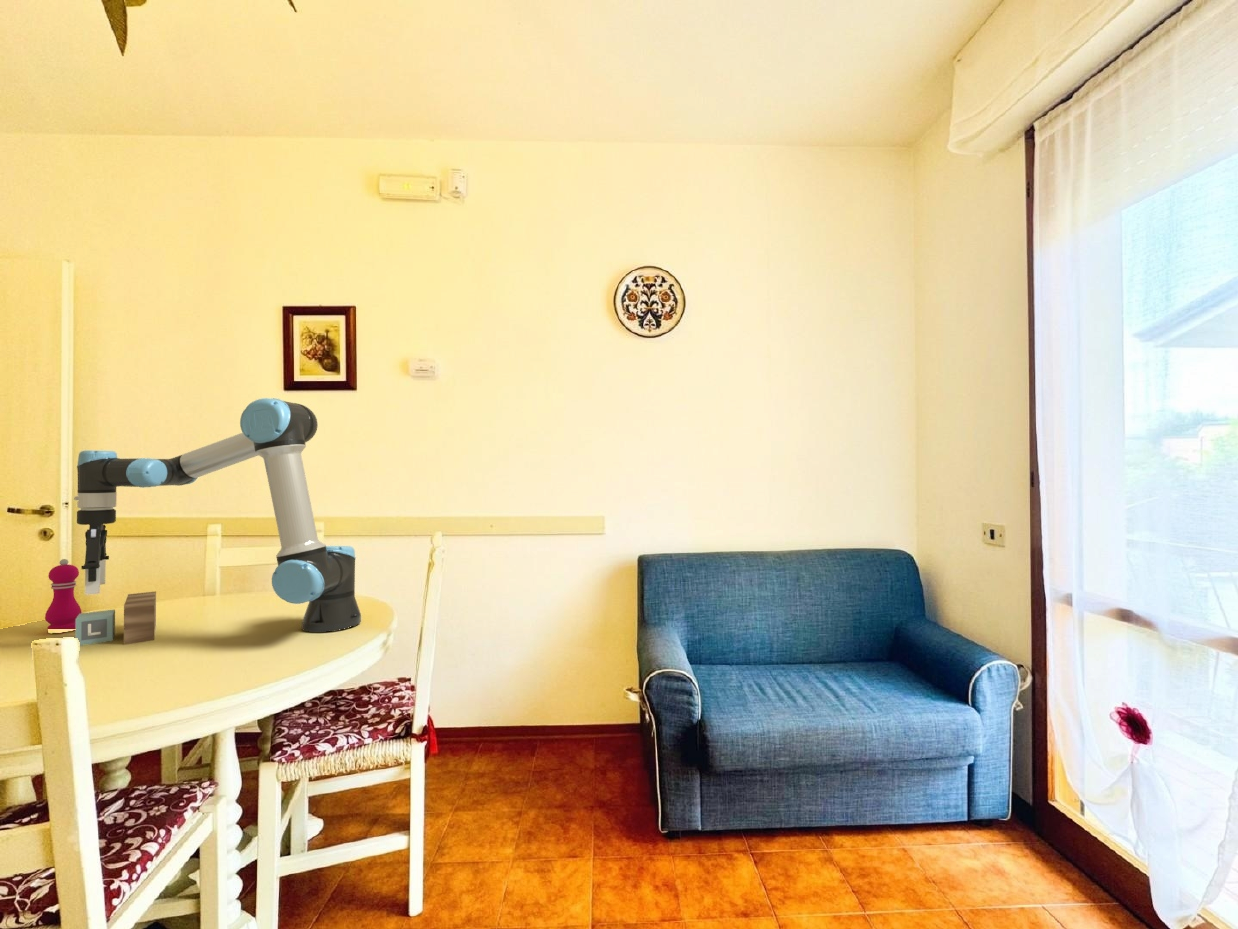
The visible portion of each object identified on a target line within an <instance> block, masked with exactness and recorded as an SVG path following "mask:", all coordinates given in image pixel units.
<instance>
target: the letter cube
mask: <svg viewBox="0 0 1238 929" xmlns="http://www.w3.org/2000/svg"><path fill="white" fill-rule="evenodd" d="M74 633H75V635H74V636H75V638H78V640H79V642H80V646H79V647H82V646H84V645H83V644H89V645H94V644H93V643H96V644H101V643H100V642H103V643H107V642H106V641H110V642H113V640H114V638H115V636H116V609H107V610H100V611H99V610H98V611H91V612H83V613H80V614H79V615H78V616H77V618H76V630H75V631H74ZM81 645H82V646H81Z"/></svg>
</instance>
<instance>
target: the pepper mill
mask: <svg viewBox="0 0 1238 929" xmlns="http://www.w3.org/2000/svg"><path fill="white" fill-rule="evenodd" d="M79 575H80V571H79V568H78V567H77V566H75V565H73V564H69V560H68V559H66V558H62V559H61V560H59V565H57V566H53V567H52V568H51V569H50V570H49V572H48V576H47V577H48V580H50V581H51V582H52V583H51V584H50V586H51V587H50V589H51V590H53V598H52V601H51V602H50V604H49V606H48V608H47V610H46V612H45V614H44V615H45V616H44V619H45V620H44V621H45V622H46V623H48V624H49V625H48V626H47V628H46V629H76V618H77V616H78V615H79V614H80V613H82V608H81V606H80V604H79V603H78V602H77V599H76V597H75V592H74V591H75V587H77V580H76V579H77V578H78V577H79Z"/></svg>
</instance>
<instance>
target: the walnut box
mask: <svg viewBox="0 0 1238 929" xmlns="http://www.w3.org/2000/svg"><path fill="white" fill-rule="evenodd" d="M156 627H157V591H146V592H138V593H129V594H127V597H126V599H125V601H124V605H123V645H129V644H136V643H143V642H149V641H154V640H155V634H156Z"/></svg>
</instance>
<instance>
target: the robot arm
mask: <svg viewBox="0 0 1238 929" xmlns="http://www.w3.org/2000/svg"><path fill="white" fill-rule="evenodd" d="M239 425H240V430H241V432H239V433H238V434H235V435H233V436H229V437H226V438H223V439H221V440H219V441H216V442H213V443H209V444H208V445H205V446H202V447H199V448H196V449H193V450H191V451H187V452H185V453H183V454H180V455H178V456H175V457H172V458H149V457H147V458H145V457H144V458H143V457H141V458H119V457H118V453H117V452H116V451H114V450H81V451H80V452H79V453H78V458H77V465H76V469H77V496H76V495H75V496H74V497H73V500H74V501H77V508H78V510H77V511H76V524H77V525H81V526H86V525H87V526H88V529H86V531H85V533H84V534H85V558H84V564H83V565H81V569H80V570H84V572H85V573H84V595H85V596H87V595H98V594H100V593H101V585H106V560H109V558H110V556H109V555H107V549H106V547H107V546H106V543H107V536H108V529H106V526H107V525H108V524H114V523H116V522H117V521H116V520H117V510H116V509H115V507H117V496H118V494H117V493H118V492H117V487H129V488H132V487H133V488H137V487H138V488H152V487H153V488H154V487H161V486H163V487H164V486H185V485H190V484H193V483H194V482H195V481H196V480H197V479H198V478H200V477H203V476H206V475H208V474H210V473H213V472H214V473H215V472H216V471H219V470H223V469H224V468H227V467H230V466H232V465H233V466H234V465H236V464H239V463H241V462H245V461H248V460H249V459H253V458H255V457H261V458H262V459H263V462H264V467H265V471H266V472H265V473H266V477H267V482H268V487H269V491H270V497H271V498H270V499H271V502H272V508H273V511H274V517H275V522H276V526H277V527H276V528H277V532H278V537H279V542H280V547H281V548H280V549H279V551H278V553H277V554H276V557H275V558H276V562H277V566H276V568H275V570H274V571H273V573H272V575H271V586H272V589H273V591H274V593H275V594H276V595H277V597H279V598H280V599H282V600H283V601H285V602H287V603H290V604H293V605H294V604H295V605H299V604H300V605H301V604H305V603H308V604H307V607H306V611H305V613H304V615H303V618H302V621H301V622H302V623H301V624H302V625H301V626H302V628H303V629H304V630H303V629H302V630H303V631H304V632H308V631H309V633H327V632H326V631H332V632H335V631H334V630H339V629H344V628H348V627H350V626H354V627H356V626H355V625H357V624H359V623H360V622H361V623H362V614H361V610H360V608H359V606H358V605H359V604H358V603H357V599H356V597H355V596H356V595H355V594H356V593H355V591H356V590H355V587H356V585H355V584H356V583H355V582H356V558H357V557H356V554H355V553H356V551H355V549H354V547H353V546H350V545H347V546H346V545H334V546H333V545H330V546H329V545H328V546H326V544H325V543H323V542H322V541H320V540H319V537H318V533H317V529H316V528H317V527H316V524H315V522H316V521H315V518H314V513H313V508H312V502H311V498H310V494H309V493H310V492H309V489H308V487H309V486H308V483H307V478H306V472H305V468H304V463H303V459H302V452H303V451H304V450H305V448H306V447H307V445H306V443H308V442H309V441H311V440H312V438H314V436H315V435H316V433H317V430H318V427H319V426H318V419H317V417H316V415H315V413H314V412H313V411H312V410H311V409H310V408H309V407H308V406H306V405H303V404H300V403H296V402H290V401H286V400H281V399H280V398H267V397H266V398H265V397H264V398H258V399H255V400H254V401H252V402H250V403H249V404H248V405H247V406H246V407H245V409H243V411H242V413H241V415H240V420H239ZM361 623H360V624H361ZM360 624H359V625H360ZM357 626H358V625H357ZM348 629H349V628H348ZM344 630H345V629H344ZM339 631H340V630H339Z"/></svg>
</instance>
